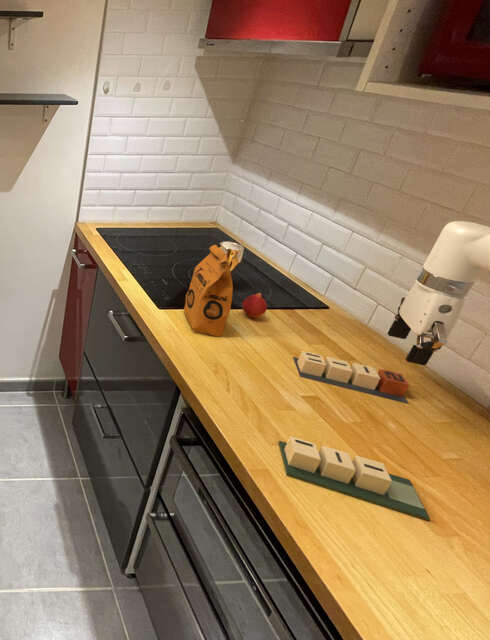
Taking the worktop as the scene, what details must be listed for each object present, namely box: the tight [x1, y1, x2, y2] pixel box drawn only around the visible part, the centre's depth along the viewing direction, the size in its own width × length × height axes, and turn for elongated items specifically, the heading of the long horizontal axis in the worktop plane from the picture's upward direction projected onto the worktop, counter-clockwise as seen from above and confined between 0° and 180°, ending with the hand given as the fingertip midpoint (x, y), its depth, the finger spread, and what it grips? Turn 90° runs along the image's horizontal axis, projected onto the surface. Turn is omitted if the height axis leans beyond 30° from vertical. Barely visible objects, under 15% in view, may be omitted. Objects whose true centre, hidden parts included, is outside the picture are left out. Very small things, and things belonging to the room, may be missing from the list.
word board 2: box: [277, 435, 431, 522], centre depth 80 cm, size 20×8×4 cm, turn 65°
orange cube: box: [377, 368, 410, 397], centre depth 101 cm, size 4×4×4 cm
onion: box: [241, 292, 268, 319], centre depth 127 cm, size 6×6×8 cm
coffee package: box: [183, 244, 234, 337], centre depth 120 cm, size 10×12×22 cm
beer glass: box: [218, 240, 245, 279], centre depth 140 cm, size 7×7×15 cm
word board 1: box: [292, 350, 410, 405], centre depth 104 cm, size 20×8×4 cm, turn 65°
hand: (405, 349), depth 97 cm, fingers open, 9 cm apart
